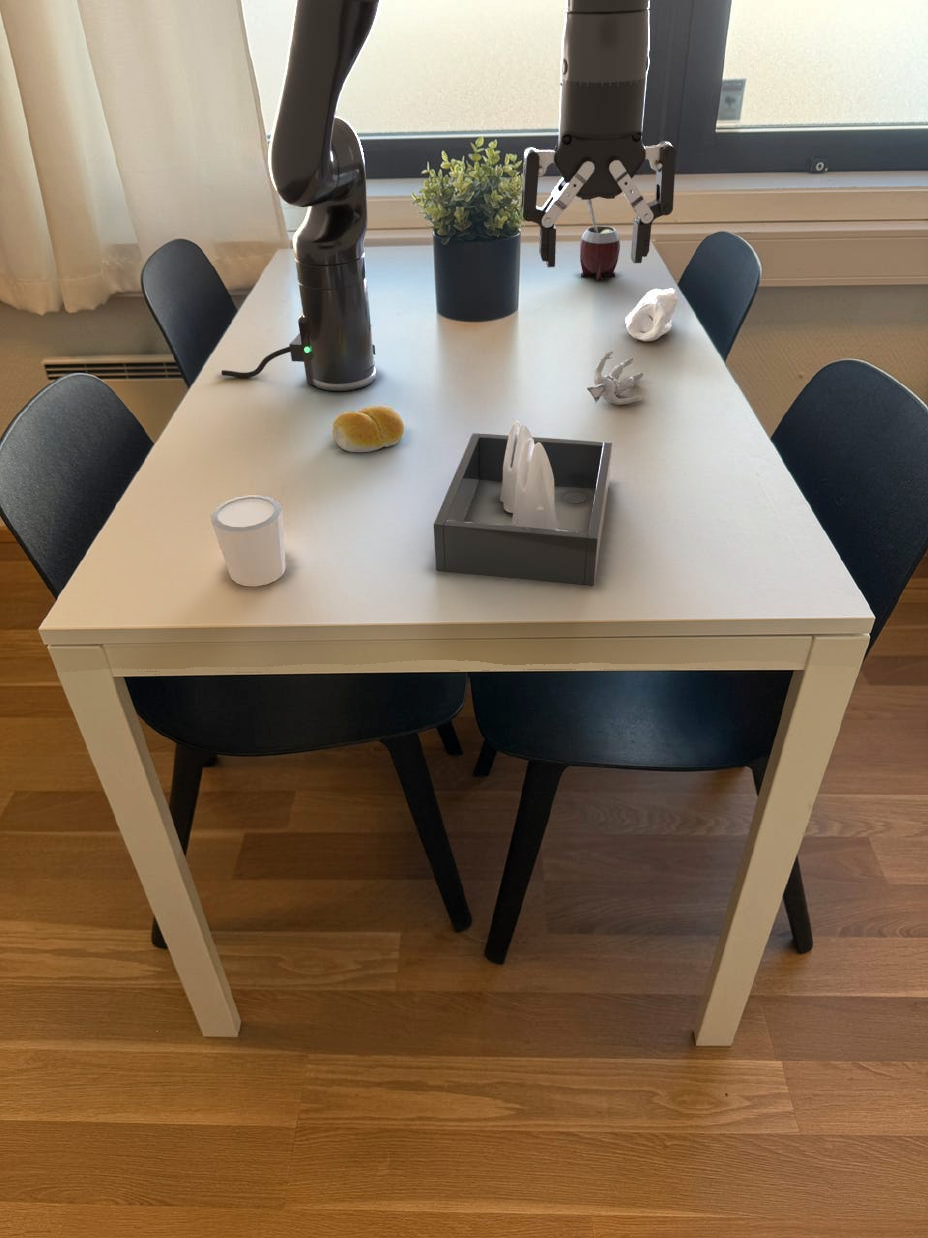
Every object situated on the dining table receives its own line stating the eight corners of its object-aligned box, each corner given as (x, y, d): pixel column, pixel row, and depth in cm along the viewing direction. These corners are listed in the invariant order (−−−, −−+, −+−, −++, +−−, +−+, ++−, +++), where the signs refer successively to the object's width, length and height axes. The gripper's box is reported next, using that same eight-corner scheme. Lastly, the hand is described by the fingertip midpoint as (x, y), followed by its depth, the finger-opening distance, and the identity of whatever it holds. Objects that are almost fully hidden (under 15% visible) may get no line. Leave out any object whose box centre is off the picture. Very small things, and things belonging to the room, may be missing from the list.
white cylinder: (228, 554, 93) (215, 496, 89) (294, 549, 94) (284, 491, 89) (219, 592, 88) (205, 533, 84) (289, 587, 88) (278, 528, 84)
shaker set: (560, 553, 92) (565, 457, 85) (520, 557, 91) (522, 461, 85) (534, 495, 101) (536, 404, 94) (498, 499, 101) (498, 408, 94)
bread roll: (415, 441, 113) (414, 411, 110) (353, 460, 109) (350, 430, 106) (384, 417, 118) (381, 389, 116) (323, 435, 114) (319, 406, 112)
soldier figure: (655, 392, 125) (636, 399, 114) (627, 412, 127) (606, 421, 117) (625, 346, 124) (603, 348, 114) (597, 367, 127) (573, 372, 116)
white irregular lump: (650, 314, 147) (685, 276, 141) (666, 367, 141) (704, 329, 135) (609, 297, 143) (643, 256, 137) (625, 350, 137) (661, 310, 131)
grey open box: (435, 570, 90) (433, 524, 87) (473, 474, 105) (472, 432, 102) (593, 585, 87) (597, 538, 84) (608, 485, 103) (612, 442, 99)
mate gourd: (619, 281, 160) (626, 191, 151) (575, 282, 160) (580, 192, 151) (614, 268, 166) (621, 181, 157) (572, 269, 166) (576, 182, 157)
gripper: (674, 63, 81) (656, 249, 91) (519, 70, 81) (518, 255, 91) (694, 74, 75) (672, 271, 85) (526, 81, 75) (524, 278, 85)
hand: (592, 263), depth 88 cm, fingers open, 8 cm apart
